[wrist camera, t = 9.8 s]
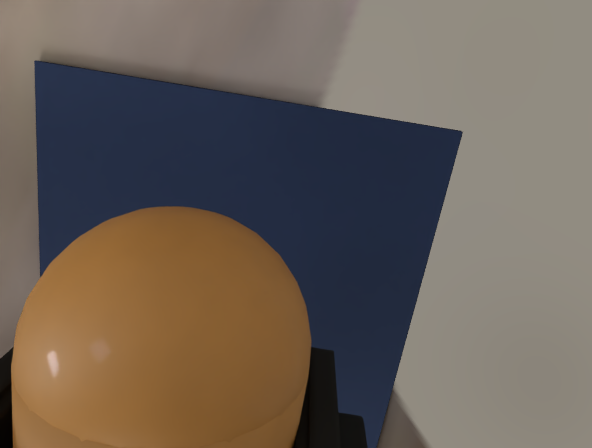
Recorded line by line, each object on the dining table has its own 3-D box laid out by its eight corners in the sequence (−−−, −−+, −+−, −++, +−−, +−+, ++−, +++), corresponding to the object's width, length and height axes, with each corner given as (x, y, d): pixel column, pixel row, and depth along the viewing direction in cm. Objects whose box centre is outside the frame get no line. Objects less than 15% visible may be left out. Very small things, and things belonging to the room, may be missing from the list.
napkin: (37, 60, 13) (34, 60, 12) (461, 131, 13) (463, 131, 13) (45, 408, 16) (43, 411, 16) (372, 458, 17) (372, 461, 16)
